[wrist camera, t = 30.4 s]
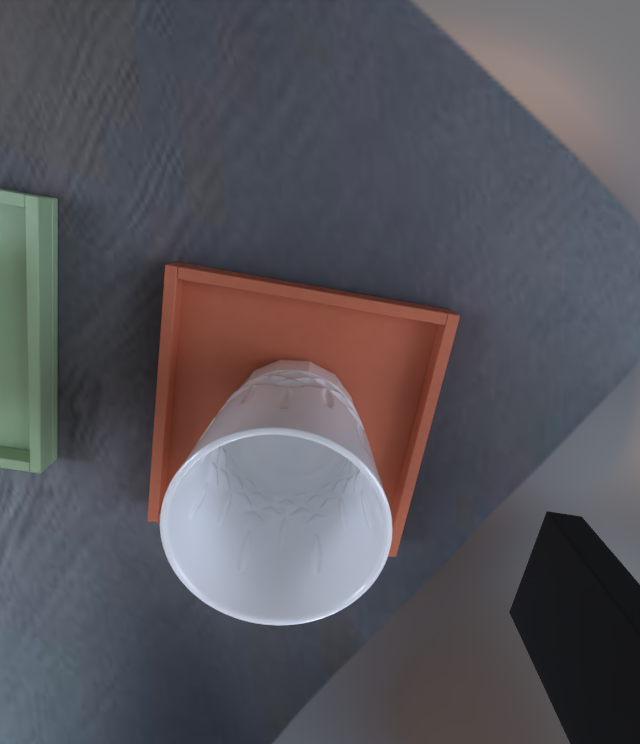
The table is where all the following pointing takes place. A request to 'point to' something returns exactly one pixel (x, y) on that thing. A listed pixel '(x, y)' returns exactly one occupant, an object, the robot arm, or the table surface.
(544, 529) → the robot arm
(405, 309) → the terracotta tray
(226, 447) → the white cup
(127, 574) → the table surface
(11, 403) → the sage tray
